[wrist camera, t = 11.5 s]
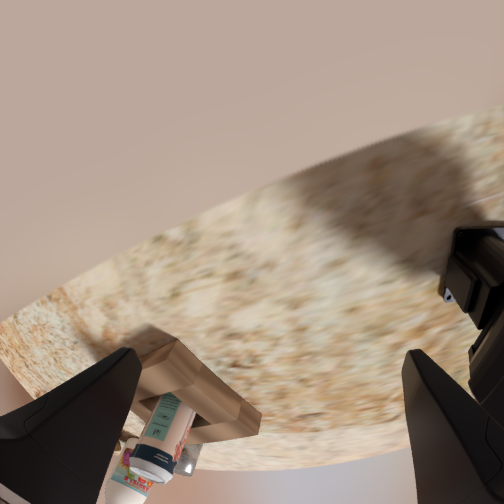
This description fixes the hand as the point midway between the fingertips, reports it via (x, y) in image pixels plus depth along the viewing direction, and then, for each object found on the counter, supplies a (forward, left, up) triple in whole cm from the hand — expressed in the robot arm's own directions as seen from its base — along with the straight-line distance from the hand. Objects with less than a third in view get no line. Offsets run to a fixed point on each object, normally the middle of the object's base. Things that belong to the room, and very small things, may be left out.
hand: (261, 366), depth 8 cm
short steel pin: (+17, +34, -13) cm, 40 cm away
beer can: (+14, +20, -13) cm, 28 cm away
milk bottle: (+29, +42, -13) cm, 53 cm away
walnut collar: (+14, +21, -13) cm, 28 cm away
